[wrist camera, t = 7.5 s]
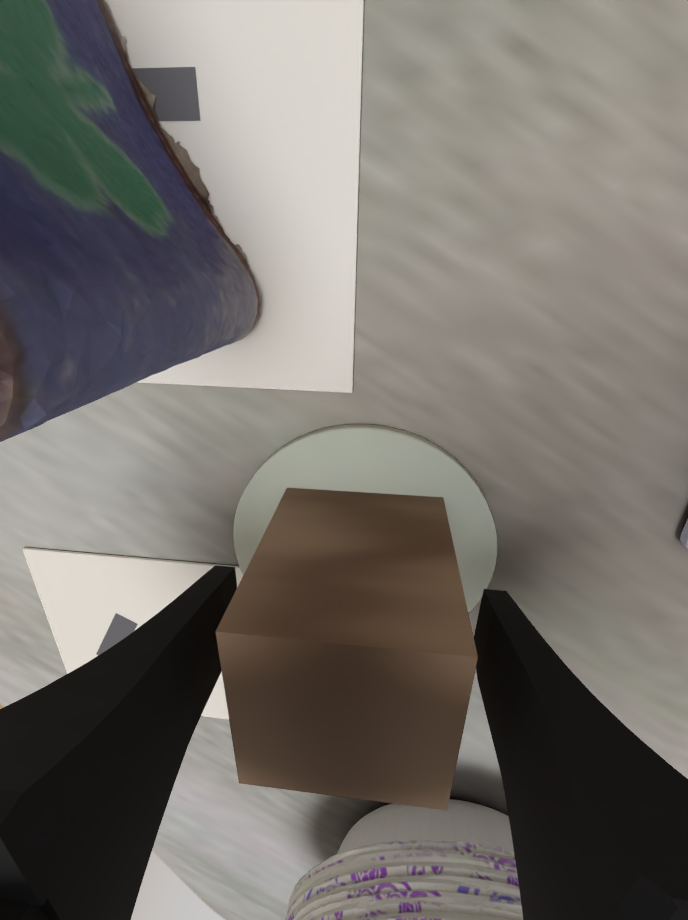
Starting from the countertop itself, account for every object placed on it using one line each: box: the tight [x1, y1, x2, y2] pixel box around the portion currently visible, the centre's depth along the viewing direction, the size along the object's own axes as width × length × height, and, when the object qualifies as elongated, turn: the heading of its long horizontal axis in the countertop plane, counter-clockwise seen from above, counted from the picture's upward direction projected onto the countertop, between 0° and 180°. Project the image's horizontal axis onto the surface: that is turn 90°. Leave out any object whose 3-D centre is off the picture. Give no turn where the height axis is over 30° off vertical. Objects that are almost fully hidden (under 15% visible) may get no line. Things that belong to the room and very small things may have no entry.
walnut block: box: [216, 488, 478, 811], centre depth 12 cm, size 5×5×6 cm
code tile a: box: [105, 0, 364, 393], centre depth 11 cm, size 11×11×1 cm
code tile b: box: [22, 547, 243, 719], centre depth 18 cm, size 9×9×1 cm
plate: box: [233, 424, 497, 613], centre depth 15 cm, size 9×9×1 cm
